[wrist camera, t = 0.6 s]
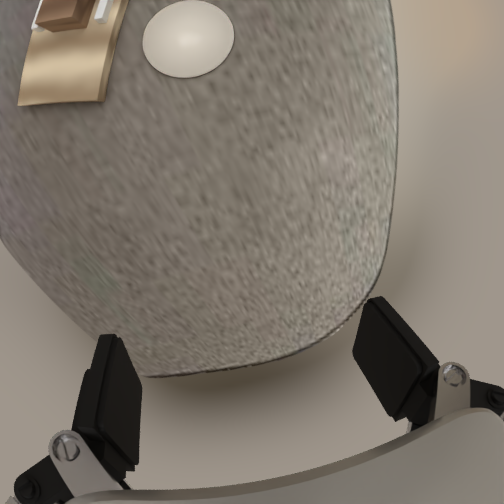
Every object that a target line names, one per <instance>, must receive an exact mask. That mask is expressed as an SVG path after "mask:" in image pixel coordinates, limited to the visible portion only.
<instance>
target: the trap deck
mask: <svg viewBox="0 0 504 504" xmlns="http://www.w3.org/2000/svg"><path fill="white" fill-rule="evenodd" d="M42 1H43V0H41V1H40V4H39V6H38V9H37V12H36V15H35V18H34V21H33V24H32V27H31V29H32V30H33V32H32V36H31V39H30V43H29V47H28V51H27V55H26V60H25V64H24V69H23V74H22V80H21V86H20V92H19V99H18V106H30V105H40V104H52V103H68V102H105V97H106V91H107V85H108V79H109V74H110V69H111V64H112V60H113V55H114V51H115V47H116V43H117V39H118V35H119V31H120V28H121V24H122V21H123V17H124V14H125V11H126V8H127V4H128V1H129V0H96V1H95V4H94V7H93V10H92V13H91V16H90V19H89V22H88V26H87V28H82V29H74V30H66V31H60V32H53V33H52V32H50V31H48V30H46V29H44V28H42V27H40V26H38V25H36V24H35V21H36V18H37V15H38V12H39V9H40V6H41V4H42Z"/></svg>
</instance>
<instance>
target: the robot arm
mask: <svg viewBox="0 0 504 504" xmlns="http://www.w3.org/2000/svg"><path fill="white" fill-rule="evenodd" d="M352 352H353V357H354V359H355V361H356V362H357V364H358V365H359V367H360V369H361V370H362V372H363V374H364V375H365V377H366V379H367V380H368V382H369V384H370V385H371V387H372V389H373V390H374V392H375V393H376V395H377V397H378V399H379V401H380V402H381V404H382V406H383V407H384V409H385V411H386V412H387V414H388V415H389V416H390V417H393V419H394V420H395V422H396V421H398V420H400V419H403V418H405V417H407V419H408V420H409V423H408V427H407V431H406V434H405V435H403V436H401V437H398V438H396V439H394V440H392V441H390V442H387V443H385V444H383V445H380V446H378V447H375V448H373V449H370V450H368V451H365V452H363V453H360V454H357V455H354V456H352V457H349V458H346V459H343V460H340V461H337V462H334V463H331V464H327V465H324V466H321V467H317V468H314V469H310V470H307V471H303V472H299V473H295V474H291V475H286V476H282V477H277V478H272V479H267V480H262V481H256V482H250V483H244V484H237V485H229V486H221V487H210V488H198V489H178V490H134V489H133V488H132V487H131V486H130V485H129V484H128V483H127V481H126V480H125V478H126V471H135V465H138V463H139V439H140V416H141V401H142V385H141V382H140V380H139V377H138V375H137V373H136V371H135V369H134V367H133V364H132V362H131V360H130V357H129V355H128V353H127V350H126V348H125V346H124V343H123V341H122V339H121V338H120V337H119V338H117V336H116V335H115V334H103V335H100V337H99V339H98V343H97V346H96V350H95V353H94V357H93V360H92V364H91V368H90V369H87V370H86V372H85V374H84V377H83V381H82V385H81V390H80V394H79V397H78V401H77V406H76V410H75V415H74V420H73V424H72V430H62V431H60V432H58V433H56V434H55V435H54V436H53V437H52V439H51V440H50V443H49V455H48V456H47V457H45V458H44V459H42V460H41V461H40V462H38V463H37V464H35V465H34V466H32V467H31V468H30V469H28V470H27V471H25V472H24V473H22V474H21V475H20V476H19V477H18V478H17V479H16V481H15V484H14V492H15V496H14V497H12V496H10V497H9V499H8V500H7V502H6V503H5V504H504V389H503V388H501V387H499V386H496V385H492V384H488V383H484V382H480V381H476V380H472V379H470V377H469V373H468V371H467V370H466V369H465V368H464V367H463V366H462V365H460V364H458V363H455V362H447V363H445V364H443V365H442V366H441V367H440V365H439V364H438V363H439V361H438V360H437V358H436V357H435V356H434V355H433V354H432V352H431V351H430V350H429V349H428V348H427V347H426V345H425V344H424V343H423V342H422V341H421V339H420V338H419V337H418V336H417V335H416V333H415V332H414V331H413V330H412V329H411V328H410V327H409V325H408V324H407V323H406V322H405V321H404V320H403V319H402V318H401V316H400V315H399V314H398V313H397V312H396V311H395V309H394V308H392V306H391V305H390V304H389V303H388V302H387V301H386V300H385V298H383V297H382V296H380V297H375V298H370V299H368V300H367V303H365V304H364V306H363V311H362V315H361V319H360V323H359V327H358V331H357V335H356V339H355V343H354V346H353V350H352Z"/></svg>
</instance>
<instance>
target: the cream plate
mask: <svg viewBox="0 0 504 504" xmlns="http://www.w3.org/2000/svg"><path fill="white" fill-rule="evenodd" d="M233 41H234V30H233V26H232V23H231V21H230V19H229V18H228V16H227V15H226V14H225V13H224V12H223V11H222V10H221V9H219V8H218V7H216V6H215V5H212V4H210V3H207V2H203V1H196V0H189V1H181V2H177V3H174V4H172V5H169V6H167V7H165V8H164V9H162V10H161V11H159V12H158V13H157V14H156V15H155V16H154V17H153V18H152V19H151V20H150V22H149V23H148V25H147V27H146V29H145V31H144V35H143V50H144V54H145V56H146V58H147V60H148V61H149V62H150V64H151V65H152V66H153V67H154V68H155V69H157V70H158V71H160V72H161V73H163V74H165V75H168V76H171V77H176V78H192V77H197V76H201V75H204V74H206V73H208V72H210V71H212V70H214V69H215V68H216V67H218V66H219V65H220V64H221V63H222V62H223V61H224V60H225V59H226V57H227V56H228V54H229V52H230V50H231V48H232V45H233Z"/></svg>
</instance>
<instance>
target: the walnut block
mask: <svg viewBox="0 0 504 504" xmlns="http://www.w3.org/2000/svg"><path fill="white" fill-rule="evenodd" d="M95 1H96V0H43V1H42V4H41V6H40V9H39V12H38V15H37V18H36V21H35V24H36V25H38V26H40V27H42V28H44V29H46V30H48V31H50V32H52V33H53V32H60V31H66V30H74V29H82V28H87V26H88V22H89V19H90V16H91V13H92V10H93V7H94V4H95Z"/></svg>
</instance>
